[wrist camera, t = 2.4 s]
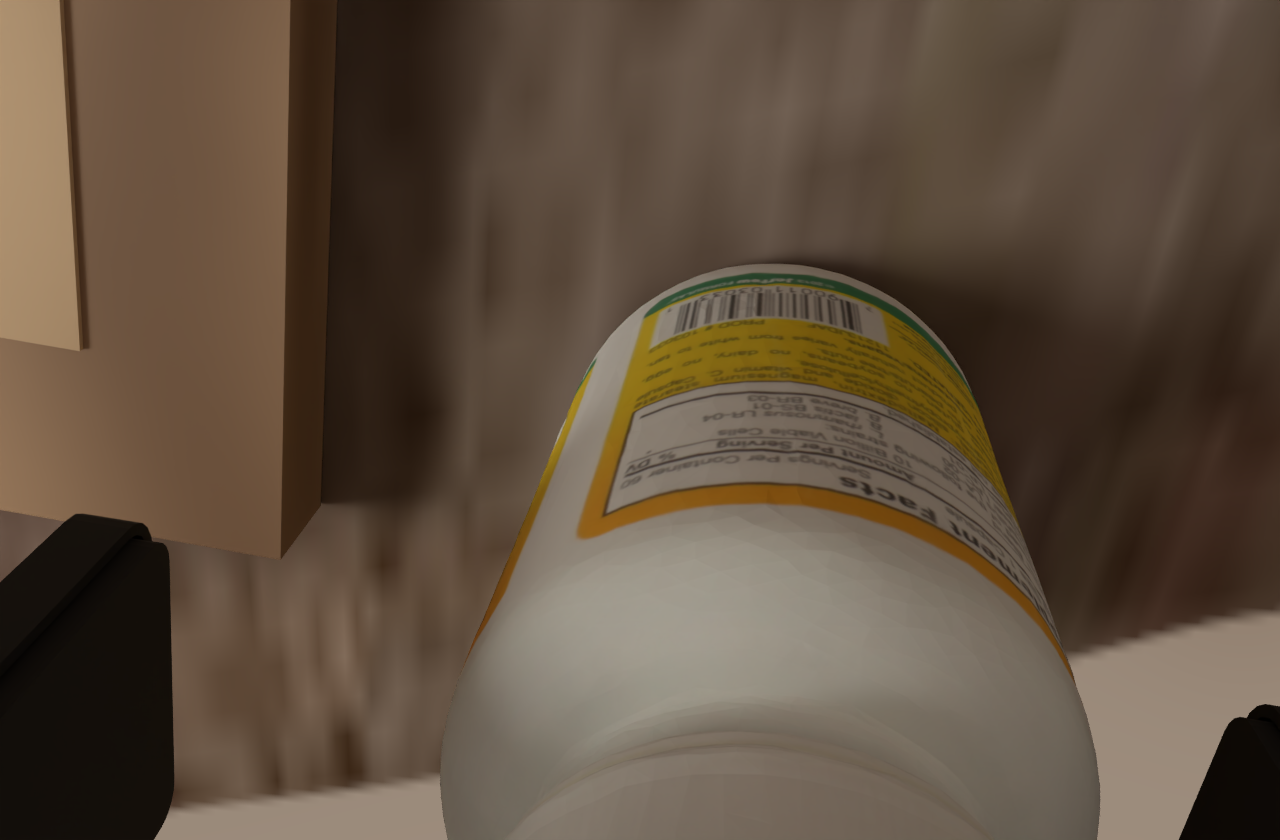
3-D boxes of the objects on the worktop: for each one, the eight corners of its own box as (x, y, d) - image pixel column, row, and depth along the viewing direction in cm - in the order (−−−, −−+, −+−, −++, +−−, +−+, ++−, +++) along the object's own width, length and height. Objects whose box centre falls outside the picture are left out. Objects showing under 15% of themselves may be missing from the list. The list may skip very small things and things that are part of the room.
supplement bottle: (791, 164, 14) (810, 594, 6) (1063, 470, 16) (1425, 1214, 7) (485, 433, 16) (147, 1067, 8) (751, 687, 18) (721, 1488, 9)
